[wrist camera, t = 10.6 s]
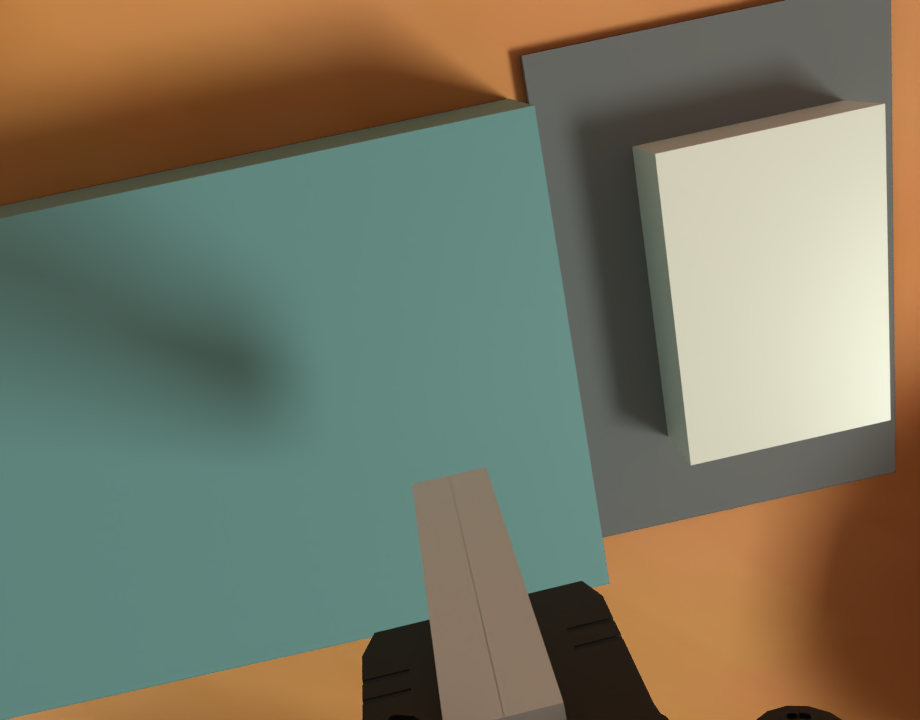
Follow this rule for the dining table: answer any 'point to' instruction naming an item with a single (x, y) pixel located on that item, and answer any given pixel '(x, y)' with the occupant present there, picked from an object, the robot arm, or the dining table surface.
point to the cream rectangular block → (769, 277)
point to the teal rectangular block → (276, 400)
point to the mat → (622, 244)
